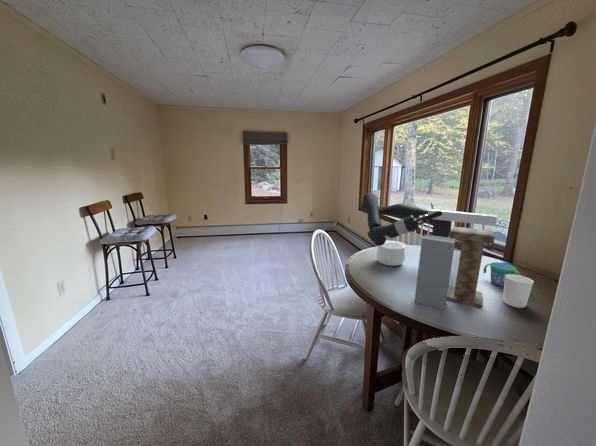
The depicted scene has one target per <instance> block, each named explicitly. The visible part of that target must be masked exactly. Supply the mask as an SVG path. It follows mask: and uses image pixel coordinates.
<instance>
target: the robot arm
mask: <svg viewBox="0 0 596 446" xmlns="http://www.w3.org/2000/svg"><path fill="white" fill-rule="evenodd" d="M361 209H362V210H363V211H364V212H366V213H367V225H368V229H369V230H368V232H367V237H368V238H369V240H371V242H373V244H374V245H376V246H381V245H383V244H384V243H385V242H386V240H387V237H388V238H389V239H394V238H396V237H399V236H402V235H403V236H404V235H406V234H409V233H412V232H414V231H417V230H419V229H420V225H424V224H429V225H431V226H432V231H431V234H430V235H434V236H441V237H448V238H449V237H450V231H451V228H452V224H453V223H452V222H453V221H446V220H437V219H434V218H436V217H438V216H441V215H442V213H441V211H438V212H435V213H433V214H429V215H428V212H429V210H426V209H423V208H420V207H416V206H413V205H410V204H405V203H396V204H390V205H386V206H385V205H379V196H378V195H377V194H375V193H372V192H368V193H366V194H365V195H364V196H363V198H362V204H361ZM380 215H384V216H387V217H393V218H396V219H399V220H397V221H396V222H393V223H389V224H387V225H382V222H381V218H380Z"/></svg>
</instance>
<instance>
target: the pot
mask: <svg viewBox="0 0 596 446" xmlns="http://www.w3.org/2000/svg"><path fill="white" fill-rule="evenodd" d="M377 246H378V245H377ZM406 248H407V244H406V243H404V242H401V241H397V240H387V239H386V242H385V243H384V244H383V245H381V246H378V247H377V251H376V259H377V261H378V262H379V263H380V264H382V265H385V266H393V267H394V266H396V267H397V266H400V265H402V264H404V262H405V259H406V251H405V249H406Z"/></svg>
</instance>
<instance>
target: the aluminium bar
mask: <svg viewBox="0 0 596 446" xmlns="http://www.w3.org/2000/svg"><path fill="white" fill-rule="evenodd" d="M428 211H429V212H428V215H429V214H433V213H435V212H438V211H441V213H442V215H441V216H438V217H436V218H434V219H437V220H446V221H452V222H456V223H465V224H473V225H483V226H490V227H491V226H492V227H495V226H496V224H497V220H498V215H496V214H487V213H486V214H484V213H476V212H474V213H473V212H468V211H467V212H465V211H455V210H443V209H435V208H429V209H428Z"/></svg>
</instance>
